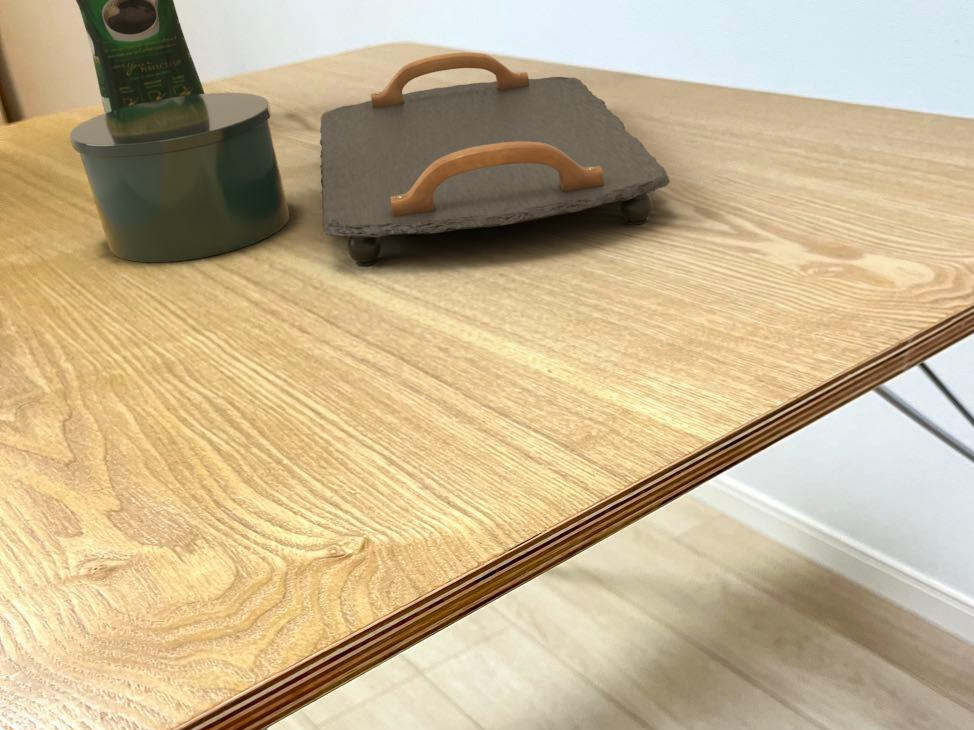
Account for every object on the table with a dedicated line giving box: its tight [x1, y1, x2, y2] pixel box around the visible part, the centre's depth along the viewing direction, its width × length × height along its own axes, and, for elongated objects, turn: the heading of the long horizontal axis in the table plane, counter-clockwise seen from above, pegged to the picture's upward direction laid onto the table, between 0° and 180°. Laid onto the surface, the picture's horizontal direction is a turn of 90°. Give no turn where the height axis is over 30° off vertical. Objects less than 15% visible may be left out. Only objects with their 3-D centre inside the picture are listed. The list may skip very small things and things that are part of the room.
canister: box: [69, 92, 290, 263], centre depth 81 cm, size 14×14×8 cm
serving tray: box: [319, 51, 670, 267], centre depth 86 cm, size 39×23×6 cm, turn 9°
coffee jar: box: [75, 0, 206, 114], centre depth 105 cm, size 10×8×19 cm
